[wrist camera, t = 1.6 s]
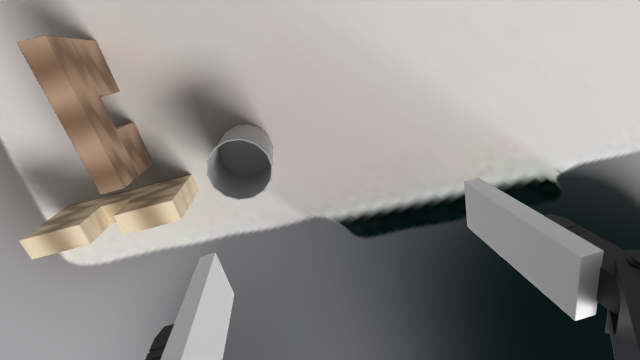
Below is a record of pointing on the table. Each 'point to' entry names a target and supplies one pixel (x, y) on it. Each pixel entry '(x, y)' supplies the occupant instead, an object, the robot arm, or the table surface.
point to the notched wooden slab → (112, 216)
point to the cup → (241, 162)
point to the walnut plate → (87, 108)
